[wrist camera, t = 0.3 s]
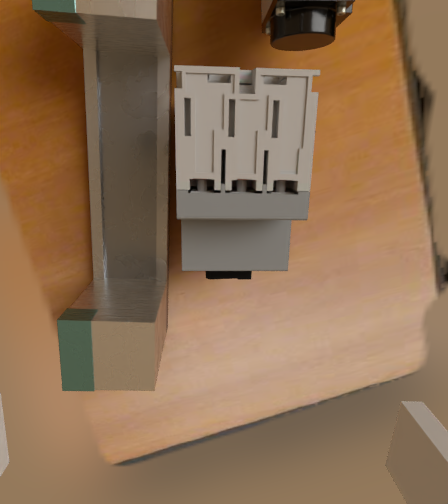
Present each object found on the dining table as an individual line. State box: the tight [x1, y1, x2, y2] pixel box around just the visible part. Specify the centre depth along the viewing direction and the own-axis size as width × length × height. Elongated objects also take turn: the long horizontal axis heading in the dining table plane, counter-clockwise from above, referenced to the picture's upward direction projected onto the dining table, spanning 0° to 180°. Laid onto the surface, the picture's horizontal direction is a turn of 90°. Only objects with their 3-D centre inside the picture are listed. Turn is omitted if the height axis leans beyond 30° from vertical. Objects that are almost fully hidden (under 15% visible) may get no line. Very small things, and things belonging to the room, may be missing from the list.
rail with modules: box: [32, 0, 173, 391], centre depth 29 cm, size 32×7×11 cm, turn 177°
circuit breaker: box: [174, 65, 320, 279], centre depth 27 cm, size 8×14×15 cm, turn 179°
